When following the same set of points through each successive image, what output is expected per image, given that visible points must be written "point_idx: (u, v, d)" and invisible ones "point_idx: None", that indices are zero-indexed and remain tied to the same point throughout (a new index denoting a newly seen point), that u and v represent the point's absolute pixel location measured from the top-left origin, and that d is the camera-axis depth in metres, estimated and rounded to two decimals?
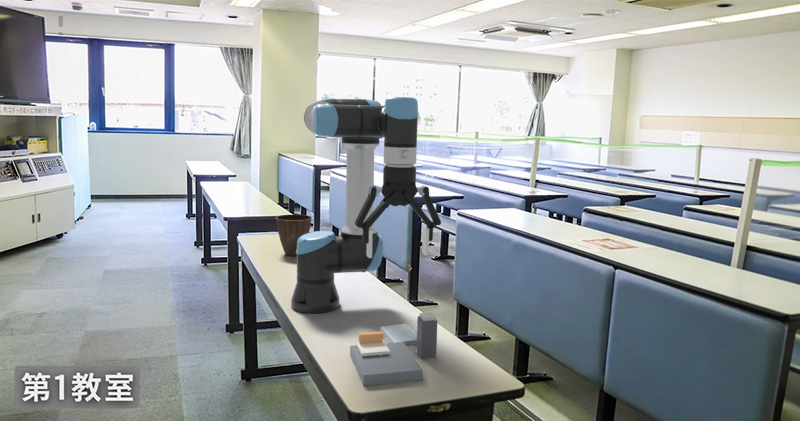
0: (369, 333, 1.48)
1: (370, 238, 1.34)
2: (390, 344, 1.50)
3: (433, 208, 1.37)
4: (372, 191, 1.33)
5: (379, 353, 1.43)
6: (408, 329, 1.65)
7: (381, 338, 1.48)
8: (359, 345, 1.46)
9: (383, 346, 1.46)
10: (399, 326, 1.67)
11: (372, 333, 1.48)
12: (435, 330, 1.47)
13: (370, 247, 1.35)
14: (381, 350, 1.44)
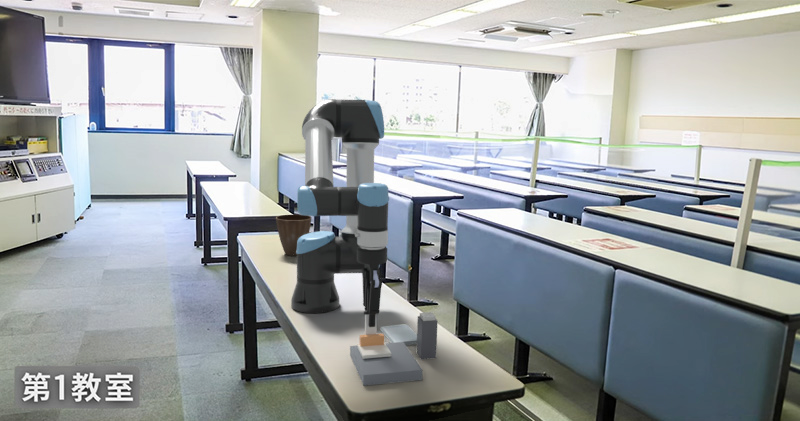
0: (370, 335, 1.47)
1: (365, 319, 1.48)
2: (390, 344, 1.50)
3: (370, 299, 1.42)
4: (362, 272, 1.51)
5: (380, 355, 1.42)
6: (408, 329, 1.65)
7: (382, 340, 1.47)
8: (360, 347, 1.45)
9: (384, 349, 1.45)
10: (399, 326, 1.67)
11: (373, 336, 1.47)
12: (435, 330, 1.47)
13: (365, 327, 1.48)
14: (382, 352, 1.42)
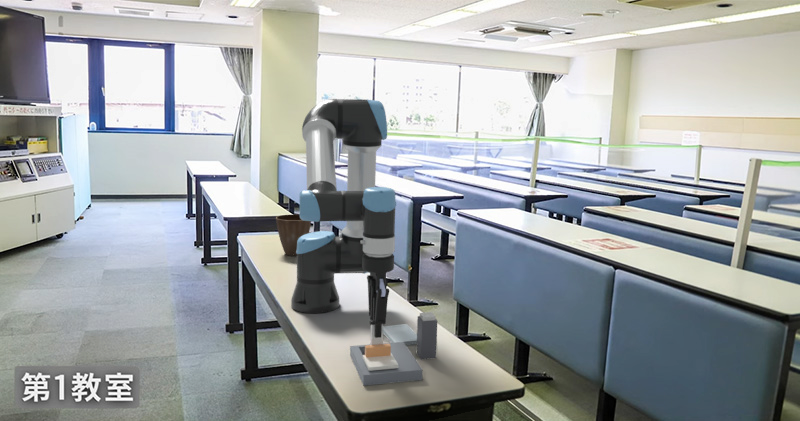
0: (376, 346, 1.40)
1: None
2: (390, 344, 1.50)
3: (376, 309, 1.36)
4: (367, 279, 1.45)
5: (387, 367, 1.35)
6: (409, 329, 1.65)
7: (389, 351, 1.41)
8: (366, 358, 1.39)
9: (391, 360, 1.38)
10: (400, 326, 1.67)
11: (379, 346, 1.40)
12: (435, 330, 1.47)
13: (370, 338, 1.42)
14: (389, 364, 1.36)
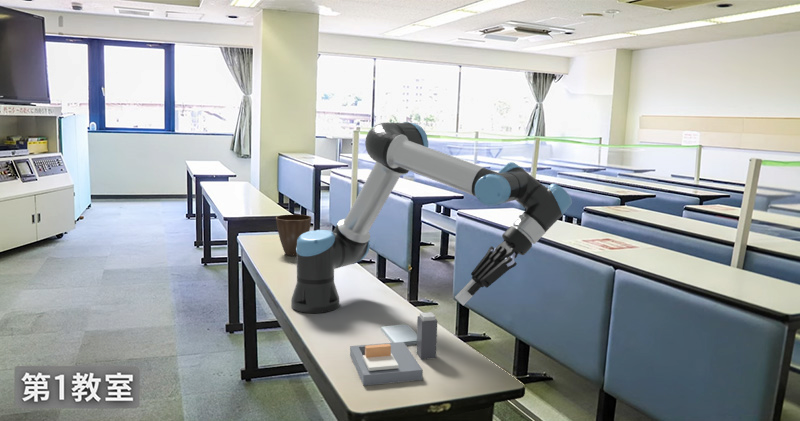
0: (376, 346, 1.40)
1: (467, 284, 1.50)
2: (390, 344, 1.50)
3: (493, 270, 1.46)
4: (489, 249, 1.55)
5: (387, 367, 1.35)
6: (409, 329, 1.65)
7: (389, 351, 1.41)
8: (366, 358, 1.39)
9: (391, 360, 1.38)
10: (400, 326, 1.67)
11: (379, 346, 1.40)
12: (435, 330, 1.47)
13: (461, 290, 1.50)
14: (389, 364, 1.36)
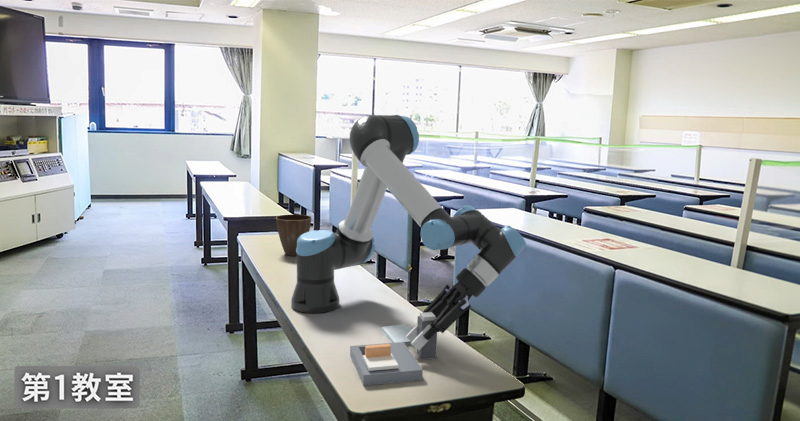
0: (376, 346, 1.40)
1: None
2: (390, 344, 1.50)
3: (448, 314, 1.44)
4: None
5: (387, 367, 1.35)
6: (409, 329, 1.65)
7: (389, 351, 1.41)
8: (366, 358, 1.39)
9: (391, 360, 1.38)
10: (400, 326, 1.67)
11: (379, 346, 1.40)
12: None
13: (412, 329, 1.51)
14: (389, 364, 1.36)
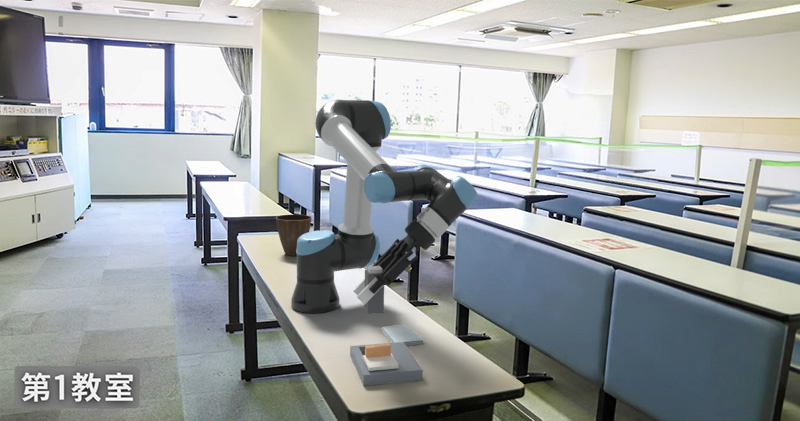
0: (376, 346, 1.40)
1: None
2: (390, 344, 1.50)
3: (394, 266, 1.38)
4: (394, 242, 1.49)
5: (387, 367, 1.35)
6: (409, 329, 1.65)
7: (389, 351, 1.41)
8: (366, 358, 1.39)
9: (391, 360, 1.38)
10: (401, 326, 1.67)
11: (379, 346, 1.40)
12: None
13: (360, 283, 1.45)
14: (389, 364, 1.36)
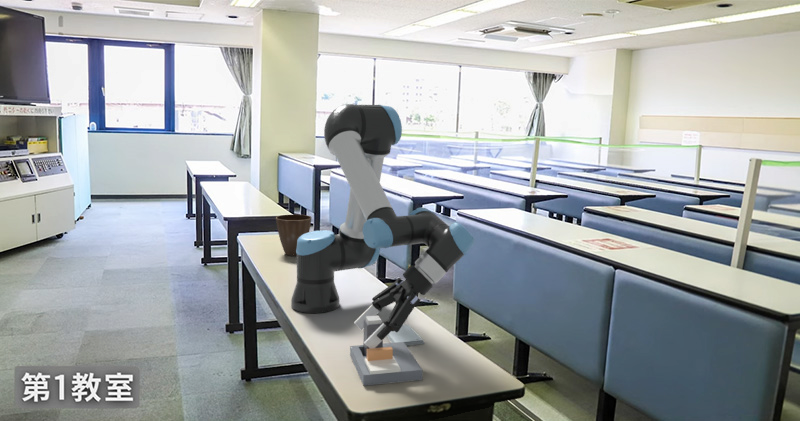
0: (378, 349, 1.38)
1: (366, 310, 1.51)
2: (390, 344, 1.50)
3: (400, 311, 1.38)
4: (397, 280, 1.52)
5: (389, 371, 1.33)
6: (410, 330, 1.65)
7: (391, 354, 1.39)
8: (367, 362, 1.37)
9: (393, 363, 1.36)
10: None
11: (381, 349, 1.38)
12: None
13: (360, 316, 1.51)
14: (391, 367, 1.34)
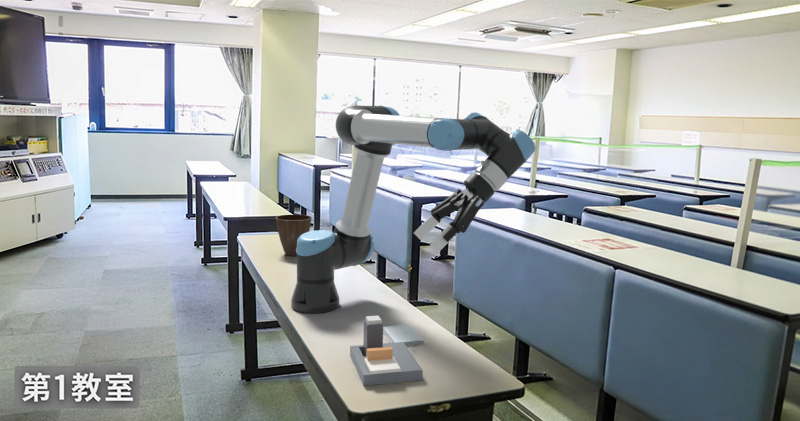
0: (378, 349, 1.38)
1: (426, 220, 1.51)
2: (390, 344, 1.50)
3: (465, 212, 1.38)
4: (456, 191, 1.52)
5: (389, 371, 1.33)
6: (410, 330, 1.65)
7: (391, 354, 1.39)
8: (367, 362, 1.37)
9: (393, 363, 1.36)
10: (401, 326, 1.67)
11: (381, 349, 1.38)
12: (381, 334, 1.44)
13: (420, 226, 1.51)
14: (391, 367, 1.34)
